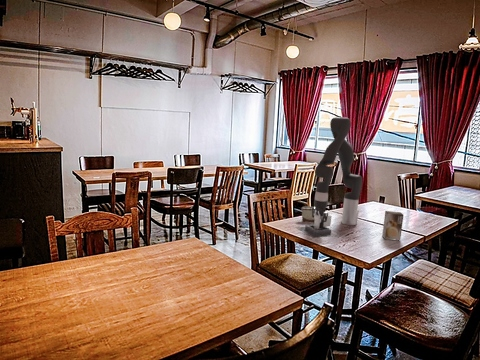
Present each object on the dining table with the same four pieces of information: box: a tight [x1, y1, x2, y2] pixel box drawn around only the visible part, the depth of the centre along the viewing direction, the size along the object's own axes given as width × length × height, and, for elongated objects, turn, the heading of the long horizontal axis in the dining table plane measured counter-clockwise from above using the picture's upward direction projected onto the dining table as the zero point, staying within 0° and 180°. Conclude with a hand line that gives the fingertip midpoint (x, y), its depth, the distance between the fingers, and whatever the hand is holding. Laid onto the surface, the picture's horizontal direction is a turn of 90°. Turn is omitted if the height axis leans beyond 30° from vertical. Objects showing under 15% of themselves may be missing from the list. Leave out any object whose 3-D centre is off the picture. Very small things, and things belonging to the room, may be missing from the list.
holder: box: [295, 224, 342, 239], centre depth 223 cm, size 20×20×4 cm
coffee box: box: [382, 210, 404, 241], centre depth 221 cm, size 9×6×16 cm
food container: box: [300, 205, 315, 223], centre depth 245 cm, size 12×6×10 cm, turn 84°
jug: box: [313, 214, 332, 230], centre depth 223 cm, size 11×5×10 cm, turn 112°
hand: (318, 226), depth 222 cm, fingers closed on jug, 5 cm apart
